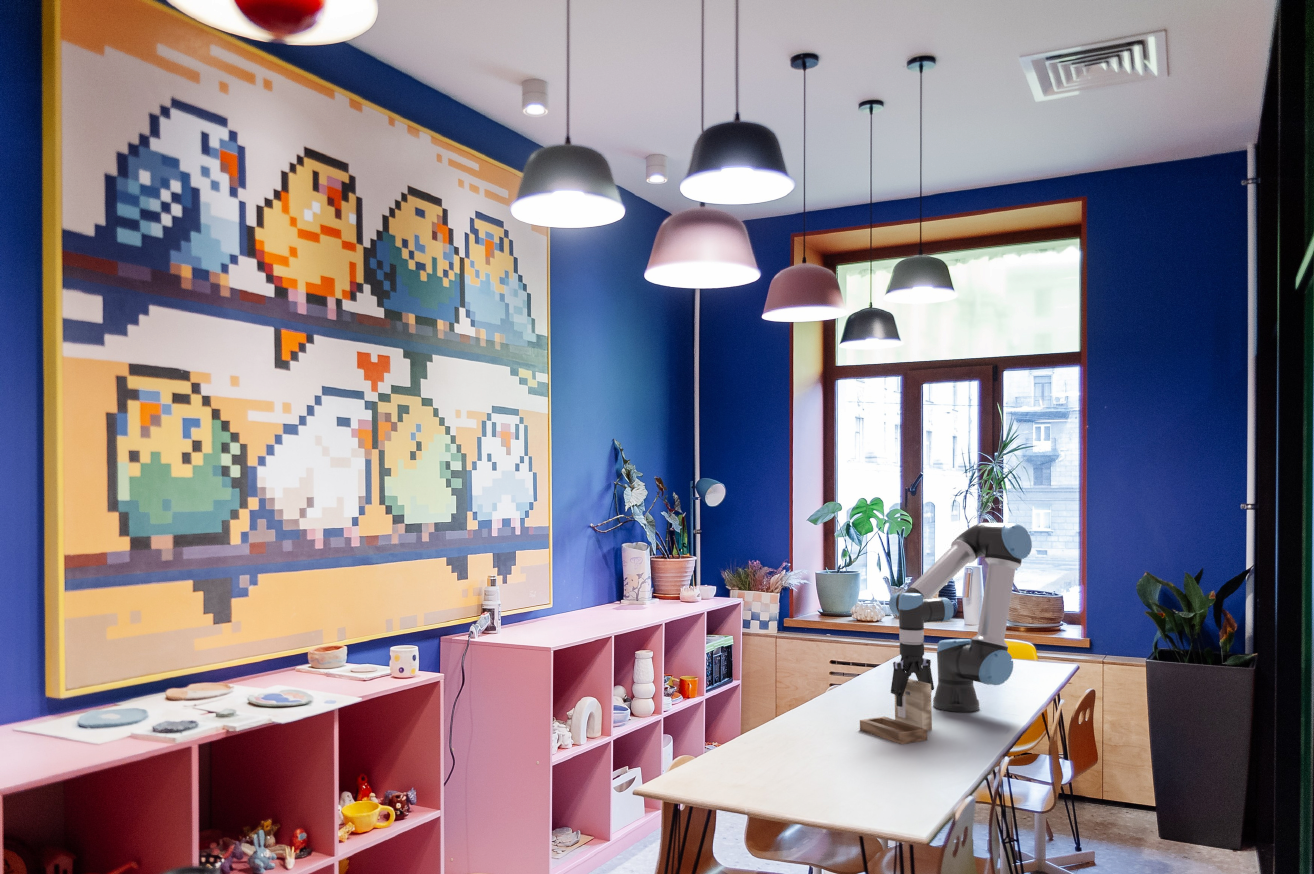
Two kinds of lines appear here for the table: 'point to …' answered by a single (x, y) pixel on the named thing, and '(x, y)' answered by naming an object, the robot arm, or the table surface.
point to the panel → (917, 704)
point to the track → (893, 730)
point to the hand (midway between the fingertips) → (913, 715)
